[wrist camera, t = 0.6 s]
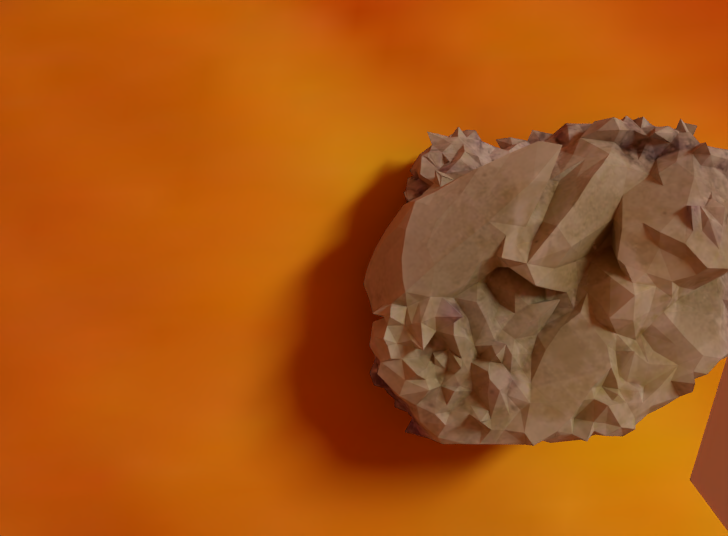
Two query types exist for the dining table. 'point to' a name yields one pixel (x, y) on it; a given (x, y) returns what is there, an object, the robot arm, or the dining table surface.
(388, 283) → the geode
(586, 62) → the dining table surface
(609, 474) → the dining table surface
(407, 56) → the dining table surface
